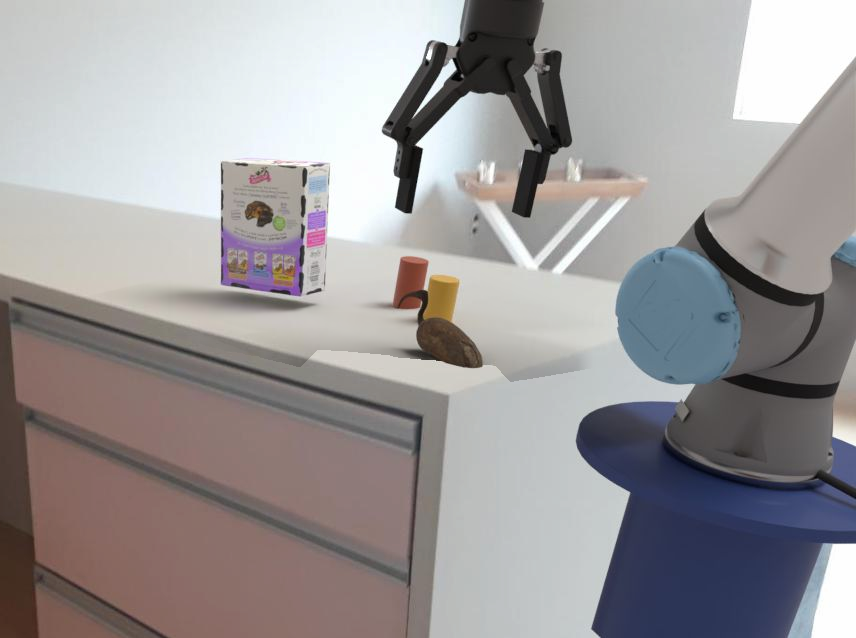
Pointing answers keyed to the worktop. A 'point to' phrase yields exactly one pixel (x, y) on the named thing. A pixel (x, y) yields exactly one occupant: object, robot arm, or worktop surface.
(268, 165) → the snack box
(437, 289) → the yellow cylinder
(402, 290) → the red cylinder
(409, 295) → the ibis bird sculpture
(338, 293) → the worktop surface
